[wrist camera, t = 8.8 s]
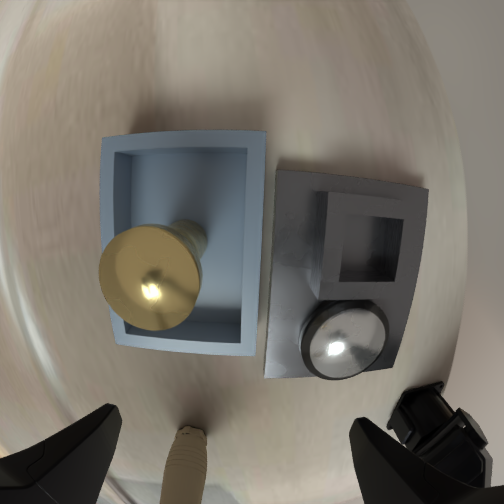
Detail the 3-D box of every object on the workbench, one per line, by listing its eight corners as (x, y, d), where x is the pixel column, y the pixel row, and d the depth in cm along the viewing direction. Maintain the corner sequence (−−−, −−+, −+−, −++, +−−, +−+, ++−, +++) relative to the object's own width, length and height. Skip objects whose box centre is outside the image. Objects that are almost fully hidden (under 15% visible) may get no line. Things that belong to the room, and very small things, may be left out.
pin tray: (262, 141, 18) (266, 131, 14) (253, 330, 21) (255, 356, 17) (125, 144, 17) (102, 137, 14) (132, 321, 20) (116, 343, 17)
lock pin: (218, 209, 18) (197, 228, 10) (217, 273, 19) (200, 334, 11) (154, 208, 18) (94, 227, 10) (156, 270, 19) (106, 325, 11)
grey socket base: (420, 188, 18) (447, 190, 15) (387, 360, 22) (403, 382, 19) (275, 170, 18) (282, 166, 15) (263, 369, 22) (266, 397, 18)
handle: (157, 420, 23) (122, 536, 9) (213, 418, 23) (201, 550, 9) (173, 445, 24) (151, 550, 10) (226, 443, 24) (221, 559, 10)
